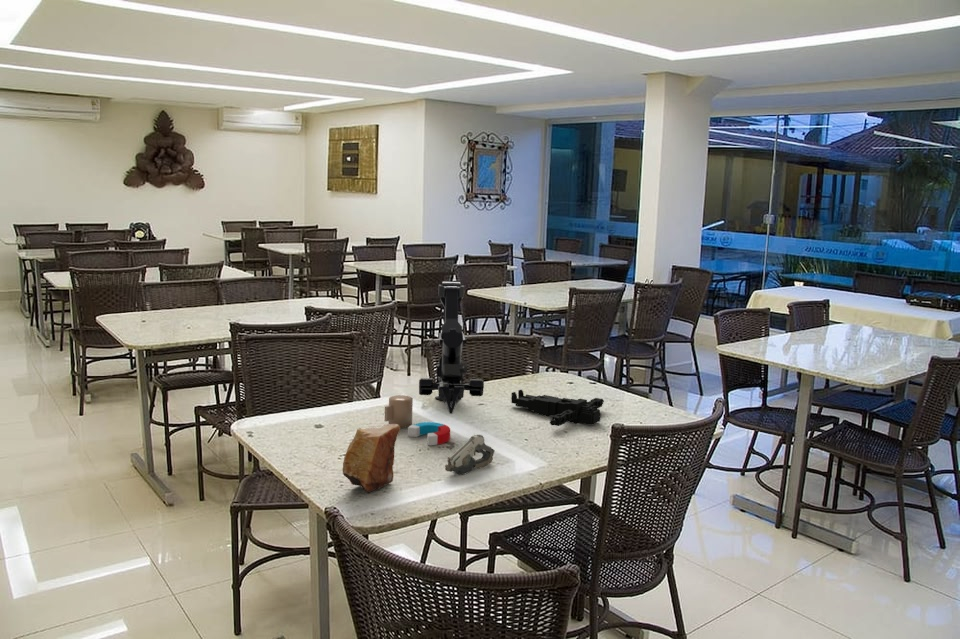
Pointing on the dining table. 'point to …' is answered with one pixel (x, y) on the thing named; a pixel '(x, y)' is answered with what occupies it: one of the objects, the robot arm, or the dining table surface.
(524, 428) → the dining table surface
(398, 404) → the cup
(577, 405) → the toy
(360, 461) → the stone
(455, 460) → the futuristic pistol
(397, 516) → the dining table surface
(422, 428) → the magnet
